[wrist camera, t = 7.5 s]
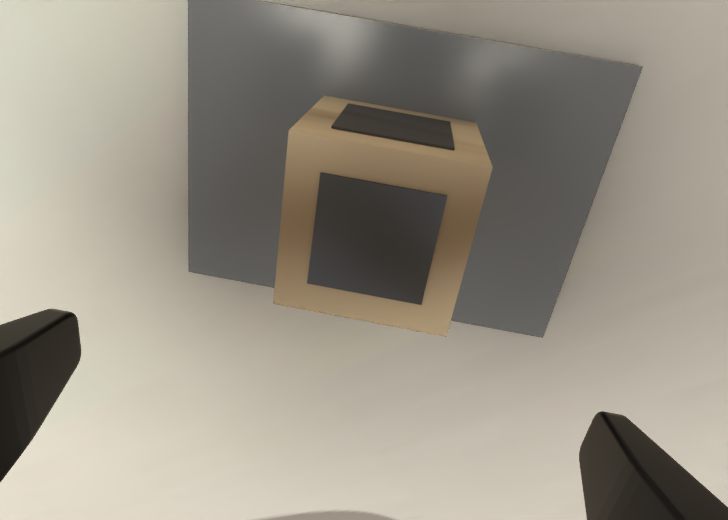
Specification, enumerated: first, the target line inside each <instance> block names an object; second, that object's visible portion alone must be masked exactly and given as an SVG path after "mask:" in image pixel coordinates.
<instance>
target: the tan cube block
mask: <svg viewBox="0 0 728 520" xmlns="http://www.w3.org/2000/svg"><path fill="white" fill-rule="evenodd" d="M492 168H493V167H492V164H491V161H490V159H489V156H488V153H487V151H486V148H485V145H484V142H483V140H482V137H481V134H480V132H479V129H478V126H477V123H475V122H470V121H464V120H459V119H453V118H447V117H442V116H436V115H431V114H425V113H420V112H414V111H408V110H403V109H397V108H392V107H386V106H381V105H375V104H369V103H364V102H358V101H353V100H347V99H341V98H336V97H330V96H325V95H324V96H323V97H322V98H321V99H320V100H319V101H318V102H317V103H316V104H315V105H314V106H313V107H312V108H311V109H310V110H309V111H308V112H307V113H306V114H305V115H304V116H303V117H302V118H301V119H300V120H299V121H298V122H297V123H296V124H295V125H294V126H293V127H291V128H290V129H289V133H288V144H287V155H286V166H285V178H284V189H283V200H282V211H281V222H280V234H279V245H278V256H277V267H276V279H275V290H274V301H273V304H278V305H283V306H289V307H294V308H299V309H304V310H310V311H315V312H320V313H325V314H331V315H336V316H341V317H346V318H352V319H357V320H362V321H367V322H373V323H378V324H383V325H388V326H394V327H399V328H404V329H409V330H415V331H420V332H425V333H430V334H436V335H441V336H447V333H448V329H449V325H450V322H451V318H452V314H453V311H454V307H455V303H456V300H457V296H458V292H459V289H460V285H461V281H462V278H463V274H464V270H465V267H466V263H467V259H468V256H469V252H470V248H471V245H472V241H473V237H474V234H475V230H476V226H477V223H478V219H479V215H480V212H481V208H482V204H483V201H484V197H485V193H486V190H487V186H488V183H489V179H490V175H491V172H492Z"/></svg>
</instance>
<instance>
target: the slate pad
mask: <svg viewBox="0 0 728 520" xmlns="http://www.w3.org/2000/svg"><path fill="white" fill-rule="evenodd" d="M642 68H643V67H642V66H639V65H635V64H629V63H623V62H617V61H611V60H605V59H600V58H594V57H588V56H582V55H576V54H570V53H564V52H558V51H553V50H547V49H541V48H535V47H529V46H523V45H517V44H512V43H506V42H500V41H494V40H488V39H482V38H476V37H470V36H465V35H459V34H453V33H447V32H441V31H435V30H429V29H423V28H418V27H412V26H406V25H400V24H394V23H388V22H382V21H376V20H371V19H365V18H359V17H353V16H347V15H341V14H335V13H330V12H324V11H318V10H312V9H306V8H300V7H294V6H288V5H283V4H277V3H271V2H265V1H259V0H188V186H189V272H193V273H198V274H204V275H209V276H215V277H220V278H225V279H231V280H236V281H241V282H247V283H252V284H258V285H263V286H268V287H274V288H275V279H276V267H277V256H278V245H279V234H280V222H281V211H282V200H283V189H284V178H285V166H286V155H287V144H288V133H289V129H290V128H291V127H293V126H294V125H295V124H296V123H297V122H298V121H299V120H300V119H301V118H302V117H303V116H304V115H305V114H306V113H307V112H308V111H309V110H310V109H311V108H312V107H313V106H314V105H315V104H316V103H317V102H318V101H319V100H320V99H321V98H322V97H323V96H324V95H325V96H330V97H336V98H341V99H347V100H353V101H358V102H364V103H369V104H375V105H381V106H386V107H392V108H397V109H403V110H408V111H414V112H420V113H425V114H431V115H436V116H442V117H447V118H453V119H459V120H464V121H470V122H475V123H477V126H478V129H479V132H480V134H481V137H482V140H483V142H484V145H485V148H486V151H487V153H488V156H489V159H490V161H491V164H492V167H493V168H492V172H491V175H490V179H489V183H488V186H487V190H486V193H485V197H484V201H483V204H482V208H481V212H480V215H479V219H478V223H477V226H476V230H475V234H474V237H473V241H472V245H471V248H470V252H469V256H468V259H467V263H466V267H465V270H464V274H463V278H462V281H461V285H460V289H459V292H458V296H457V300H456V303H455V307H454V311H453V314H452V318H451V321H456V322H462V323H467V324H472V325H478V326H483V327H488V328H494V329H499V330H505V331H510V332H515V333H521V334H526V335H531V336H537V337H542V338H543V336H544V333H545V330H546V328H547V325H548V322H549V320H550V317H551V314H552V311H553V309H554V306H555V303H556V301H557V298H558V295H559V292H560V290H561V287H562V284H563V282H564V279H565V276H566V273H567V271H568V268H569V265H570V263H571V260H572V257H573V254H574V252H575V249H576V246H577V244H578V241H579V238H580V236H581V233H582V230H583V227H584V225H585V222H586V219H587V217H588V214H589V211H590V208H591V206H592V203H593V200H594V198H595V195H596V192H597V189H598V187H599V184H600V181H601V179H602V176H603V173H604V171H605V168H606V165H607V162H608V160H609V157H610V154H611V152H612V149H613V146H614V143H615V141H616V138H617V135H618V133H619V130H620V127H621V124H622V122H623V119H624V116H625V114H626V111H627V108H628V105H629V103H630V100H631V97H632V95H633V92H634V89H635V87H636V84H637V81H638V78H639V76H640V73H641V70H642Z"/></svg>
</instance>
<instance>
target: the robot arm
mask: <svg viewBox="0 0 728 520" xmlns="http://www.w3.org/2000/svg"><path fill="white" fill-rule="evenodd" d="M80 357H81V345H80V336H79V327H78V320H77V317H76V315H75V314H73V313H72V312H68V311H62V310H57V309H47V310H44V311H41V312H38V313H35V314H32V315H29V316H26V317H23V318H20V319H17V320H14V321H11V322H8V323H5V324H2V325H0V482H1V481H2V479H3V478H4V477H5V475H6V474H7V473H8V471H9V470H10V469H11V467H12V466H13V465H14V464H15V462H16V461H17V460H18V458H19V457H20V456H21V454H22V453H23V452H24V450H25V449H26V447H27V446H28V445H29V443H30V442H31V440H32V439H33V437H34V436H35V434H36V433H37V431H38V430H39V428H40V427H41V425H42V423H43V422H44V420H45V418H46V417H47V415H48V413H49V412H50V410H51V408H52V407H53V405H54V403H55V402H56V400H57V399H58V397H59V395H60V394H61V392H62V390H63V389H64V387H65V385H66V384H67V382H68V380H69V379H70V377H71V375H72V374H73V372H74V370H75V369H76V367H77V365H78V363H79V361H80ZM579 462H580V469H581V477H582V485H583V492H584V500H585V507H586V515H587V520H728V507H727V506H726V505H725V504H723V503H722V502H721V501H720V500H719V499H718V498H717V497H716V496H714V495H713V494H712V493H711V492H710V491H709V490H708V489H707V488H705V487H704V486H703V485H702V484H701V483H700V482H699V481H698V480H696V479H695V478H694V477H693V476H692V475H691V474H690V473H689V472H687V471H686V470H685V469H684V468H683V467H682V466H681V465H680V464H678V463H677V462H676V461H675V460H674V459H673V458H672V457H671V456H669V455H668V454H667V453H666V452H665V451H664V450H663V449H662V448H660V447H659V446H658V445H657V444H656V443H655V442H654V441H653V440H651V439H650V438H649V437H648V436H647V435H646V434H645V433H644V432H642V431H641V430H640V429H639V428H638V427H637V426H636V425H634V424H633V423H632V422H631V421H630V420H629V419H628V418H626V417H625V416H623V415H619V414H614V413H609V412H603V411H602V412H599V413H597V414H596V415H595V417H594V418H593V420H592V423H591V425H590V427H589V429H588V431H587V434H586V436H585V438H584V440H583V442H582V445H581V448H580V453H579Z"/></svg>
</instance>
